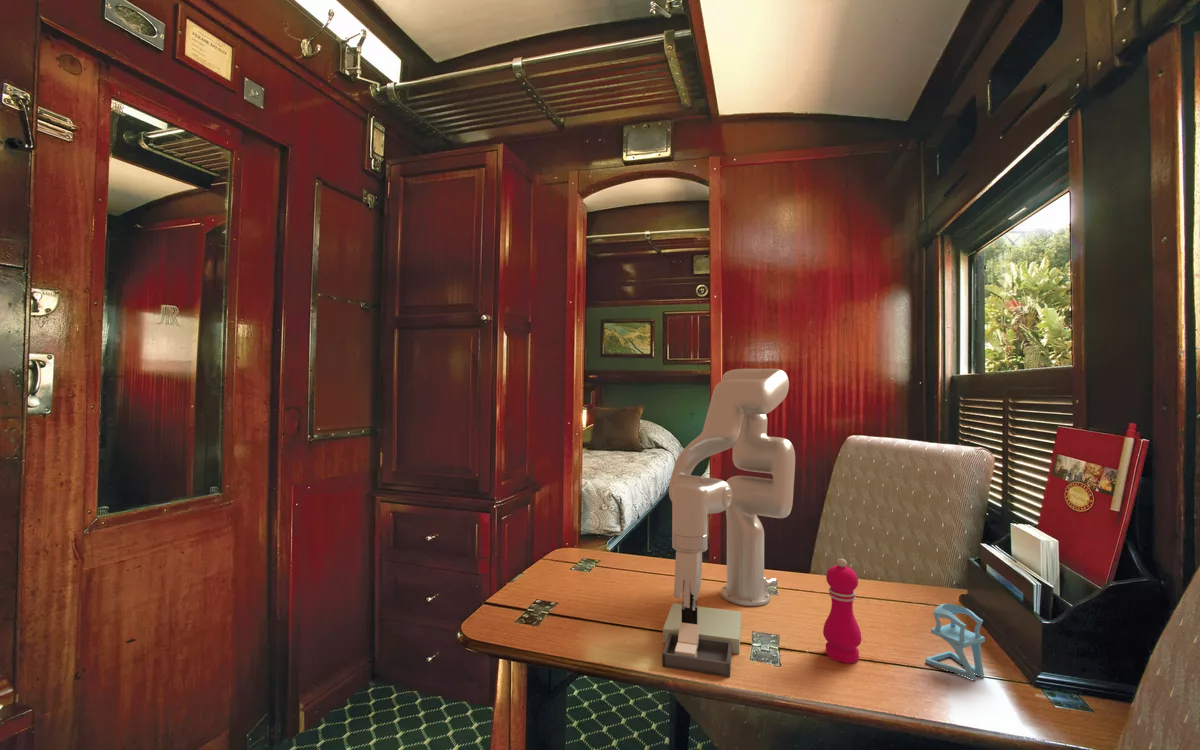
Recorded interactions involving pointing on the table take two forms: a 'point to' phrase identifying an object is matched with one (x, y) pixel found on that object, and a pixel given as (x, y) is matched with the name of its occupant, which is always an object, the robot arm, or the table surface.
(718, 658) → the box
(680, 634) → the tile rear
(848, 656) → the pepper mill
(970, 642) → the phone stand
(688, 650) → the tile front
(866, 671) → the table surface
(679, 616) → the beige flat slab
